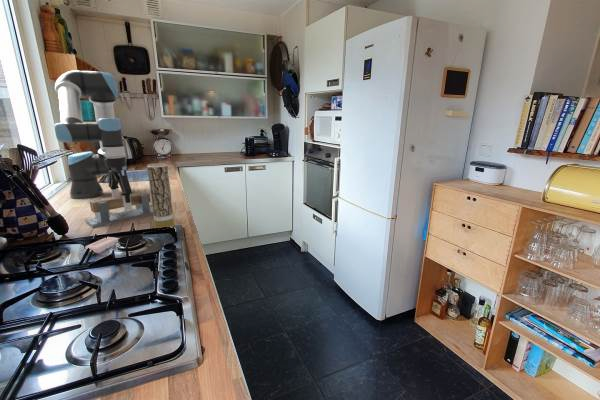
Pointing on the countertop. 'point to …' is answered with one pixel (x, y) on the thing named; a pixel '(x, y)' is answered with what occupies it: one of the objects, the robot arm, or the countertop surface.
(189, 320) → the countertop surface
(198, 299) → the countertop surface
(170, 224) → the bark textured post
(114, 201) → the walnut rail
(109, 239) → the soap bar
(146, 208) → the cup bracket
